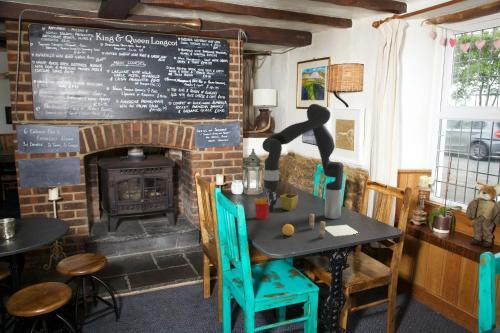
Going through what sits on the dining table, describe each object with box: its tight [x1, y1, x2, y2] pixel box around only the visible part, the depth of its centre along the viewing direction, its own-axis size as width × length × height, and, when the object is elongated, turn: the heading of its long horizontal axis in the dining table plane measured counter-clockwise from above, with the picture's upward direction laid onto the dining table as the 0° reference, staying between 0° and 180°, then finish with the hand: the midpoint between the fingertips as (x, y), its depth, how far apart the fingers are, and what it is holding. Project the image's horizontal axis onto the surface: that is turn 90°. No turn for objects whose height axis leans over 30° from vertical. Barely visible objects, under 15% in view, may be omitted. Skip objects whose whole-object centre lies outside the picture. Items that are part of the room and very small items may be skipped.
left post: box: [308, 213, 315, 230], centre depth 214 cm, size 3×3×8 cm
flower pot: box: [279, 194, 299, 211], centre depth 250 cm, size 9×9×9 cm
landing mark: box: [325, 224, 358, 238], centre depth 211 cm, size 15×15×1 cm
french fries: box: [254, 197, 269, 220], centre depth 232 cm, size 8×4×12 cm, turn 94°
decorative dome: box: [275, 181, 299, 198], centre depth 289 cm, size 19×20×10 cm
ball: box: [282, 223, 295, 237], centre depth 203 cm, size 6×6×6 cm
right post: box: [319, 220, 326, 239], centre depth 201 cm, size 3×3×8 cm
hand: (270, 212), depth 199 cm, fingers closed
